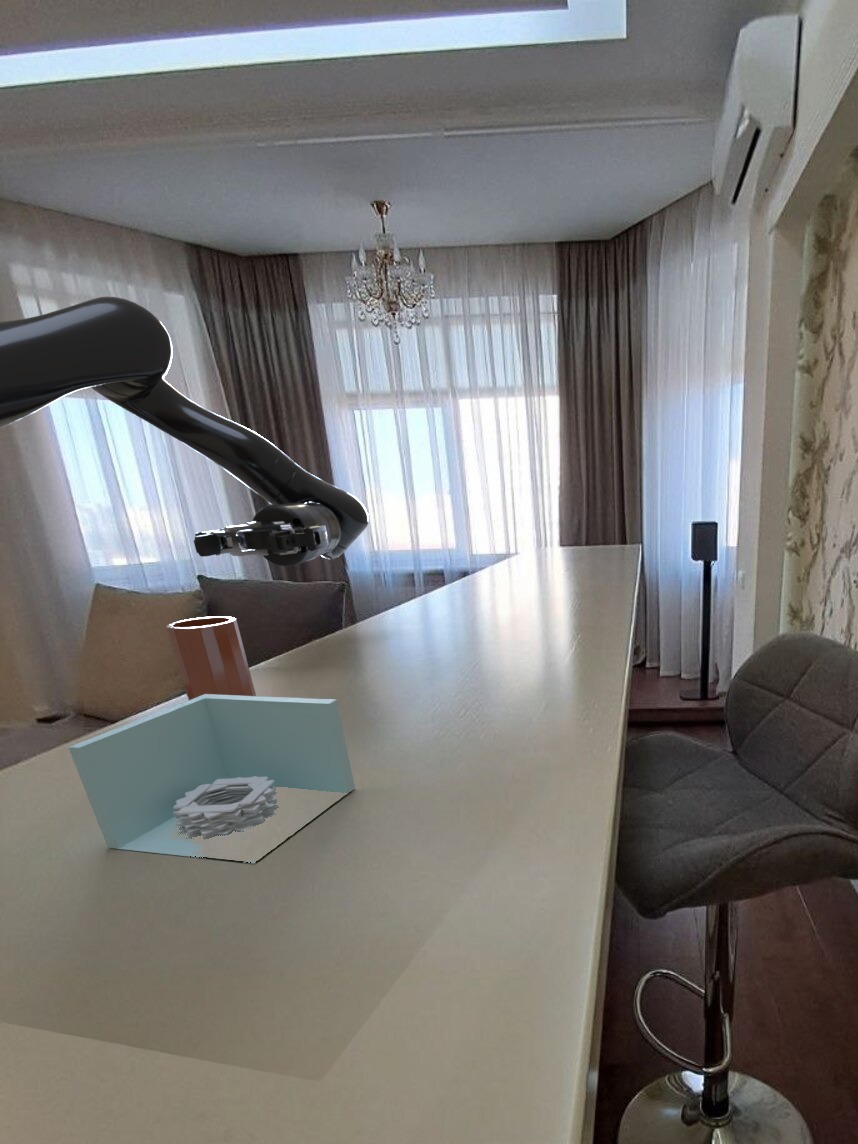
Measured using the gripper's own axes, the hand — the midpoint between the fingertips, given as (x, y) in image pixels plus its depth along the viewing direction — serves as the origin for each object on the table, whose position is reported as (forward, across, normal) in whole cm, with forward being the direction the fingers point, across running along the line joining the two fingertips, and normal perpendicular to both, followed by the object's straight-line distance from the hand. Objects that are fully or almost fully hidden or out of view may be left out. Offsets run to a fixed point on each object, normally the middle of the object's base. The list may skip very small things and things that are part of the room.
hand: (236, 545), depth 78 cm
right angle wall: (+37, +14, +16) cm, 43 cm away
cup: (+11, 0, +16) cm, 20 cm away
